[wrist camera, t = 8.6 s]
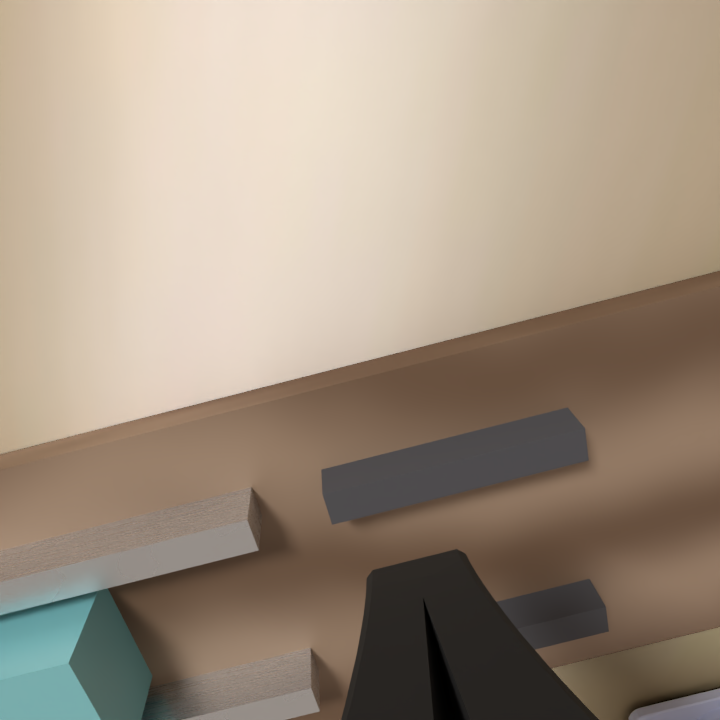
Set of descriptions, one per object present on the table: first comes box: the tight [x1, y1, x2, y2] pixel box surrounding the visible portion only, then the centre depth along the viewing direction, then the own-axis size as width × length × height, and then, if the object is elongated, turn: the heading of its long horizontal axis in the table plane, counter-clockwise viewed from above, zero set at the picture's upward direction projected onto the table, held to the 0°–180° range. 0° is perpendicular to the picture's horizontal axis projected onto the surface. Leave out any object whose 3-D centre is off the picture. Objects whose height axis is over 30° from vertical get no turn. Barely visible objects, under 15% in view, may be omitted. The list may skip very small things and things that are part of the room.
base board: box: [0, 271, 720, 720], centre depth 20 cm, size 12×29×1 cm, turn 104°
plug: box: [0, 588, 152, 720], centre depth 18 cm, size 4×5×3 cm
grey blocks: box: [321, 407, 609, 650], centre depth 19 cm, size 7×7×1 cm
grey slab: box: [0, 487, 320, 720], centre depth 19 cm, size 7×11×2 cm, turn 104°
